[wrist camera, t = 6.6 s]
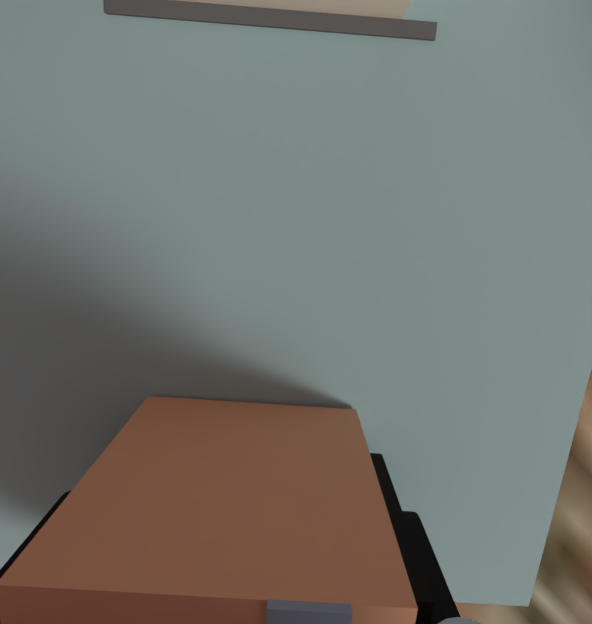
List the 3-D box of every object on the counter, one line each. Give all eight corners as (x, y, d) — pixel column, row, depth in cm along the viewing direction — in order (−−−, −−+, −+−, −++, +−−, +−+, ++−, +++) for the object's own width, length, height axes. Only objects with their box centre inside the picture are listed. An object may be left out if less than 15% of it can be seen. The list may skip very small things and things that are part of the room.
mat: (-274, -1054, 5) (-354, -1231, 5) (893, -904, 6) (973, -1055, 5) (-31, 555, 11) (-51, 575, 11) (517, 586, 12) (529, 608, 11)
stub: (148, 395, 10) (-12, 593, 5) (355, 409, 10) (420, 617, 5) (151, 566, 11) (27, 870, 6) (336, 577, 11) (370, 885, 6)
